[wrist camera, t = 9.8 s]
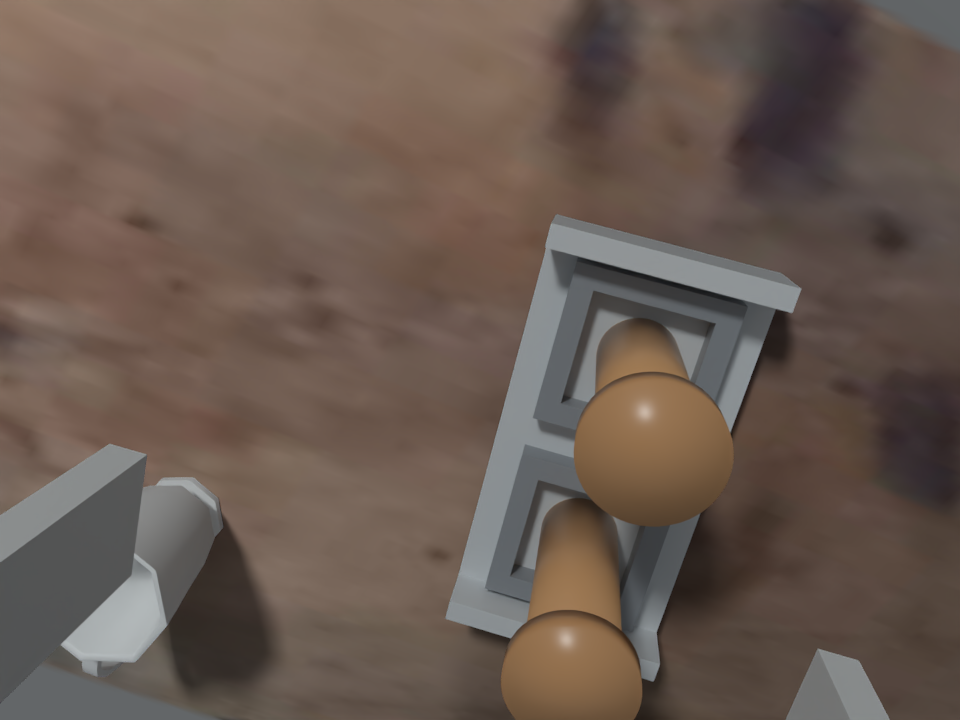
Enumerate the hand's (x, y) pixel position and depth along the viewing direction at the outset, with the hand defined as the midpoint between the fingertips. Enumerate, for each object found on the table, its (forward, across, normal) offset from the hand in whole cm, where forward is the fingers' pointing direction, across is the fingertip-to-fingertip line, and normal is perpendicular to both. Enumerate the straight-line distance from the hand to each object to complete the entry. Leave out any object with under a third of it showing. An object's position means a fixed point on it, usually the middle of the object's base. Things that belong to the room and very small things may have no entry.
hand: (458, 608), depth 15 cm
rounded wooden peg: (+21, +5, -9) cm, 23 cm away
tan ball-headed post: (+21, +5, 0) cm, 21 cm away
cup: (+23, -15, -16) cm, 32 cm away
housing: (+22, +5, -4) cm, 23 cm away
